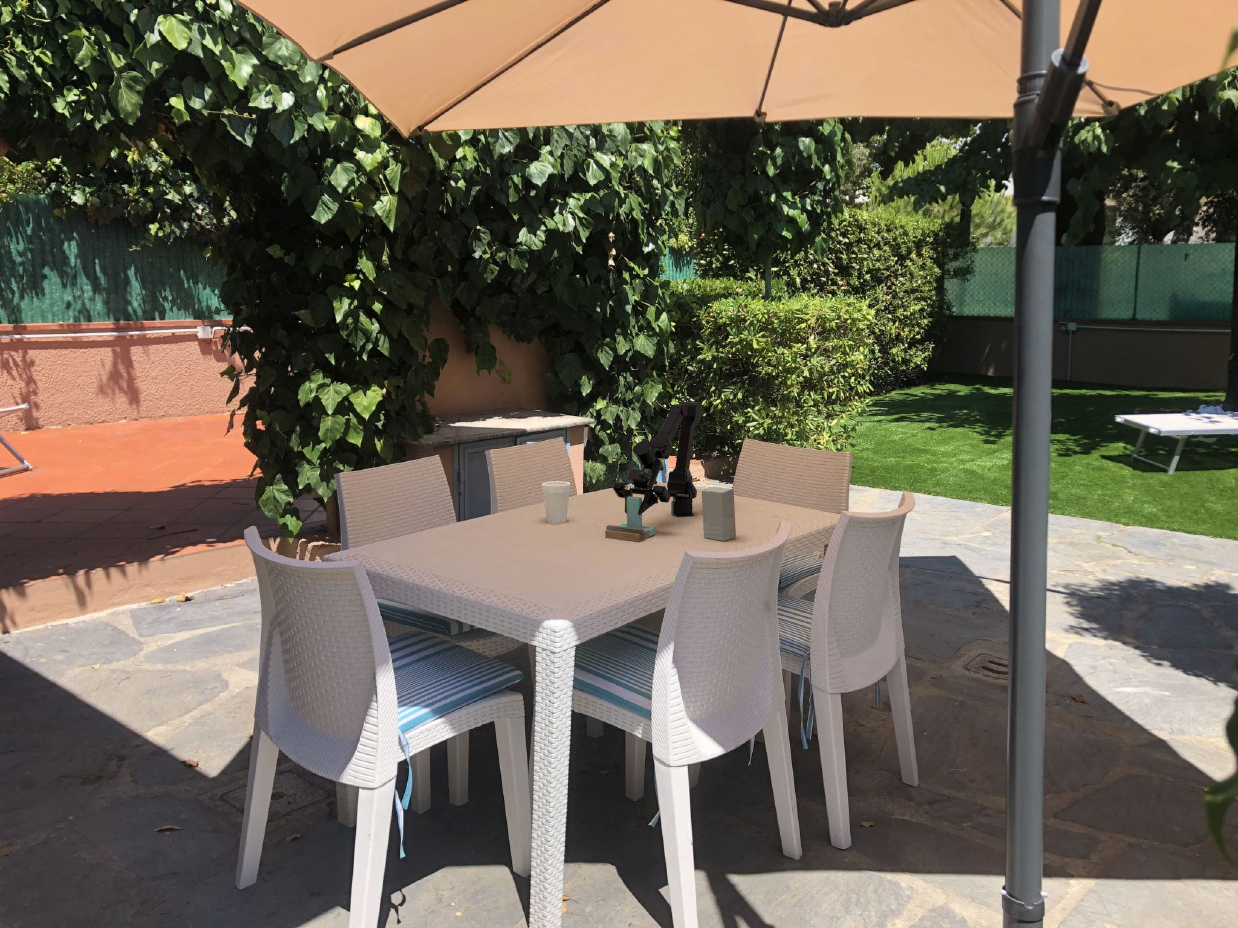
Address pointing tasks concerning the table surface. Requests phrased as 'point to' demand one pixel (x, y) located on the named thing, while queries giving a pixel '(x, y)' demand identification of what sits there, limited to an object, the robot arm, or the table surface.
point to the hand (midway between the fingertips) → (632, 513)
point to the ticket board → (626, 533)
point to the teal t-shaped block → (636, 515)
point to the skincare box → (718, 513)
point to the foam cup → (556, 500)
